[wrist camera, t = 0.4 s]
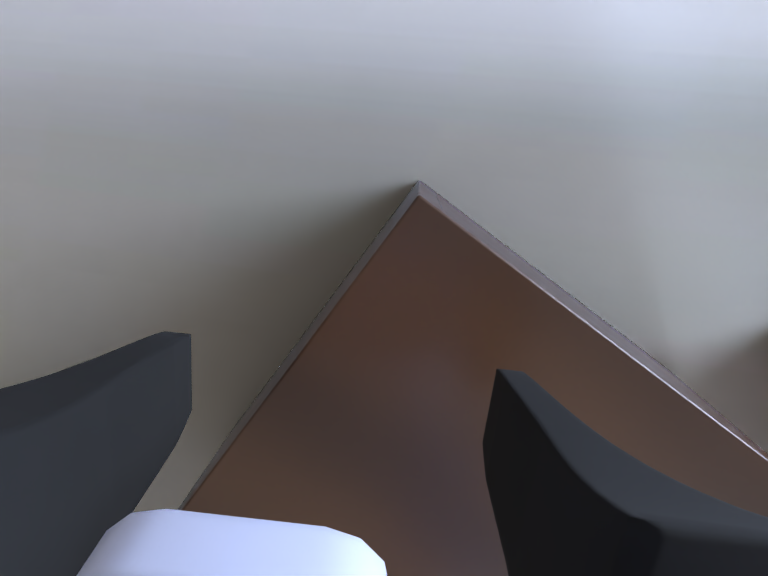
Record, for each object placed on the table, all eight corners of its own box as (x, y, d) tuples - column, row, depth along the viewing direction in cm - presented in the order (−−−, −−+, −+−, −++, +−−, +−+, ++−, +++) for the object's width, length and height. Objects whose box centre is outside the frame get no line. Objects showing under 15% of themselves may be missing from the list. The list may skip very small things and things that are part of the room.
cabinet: (466, 598, 27) (488, 802, 18) (229, 433, 26) (134, 571, 17) (677, 376, 24) (820, 499, 15) (418, 179, 23) (418, 193, 14)
